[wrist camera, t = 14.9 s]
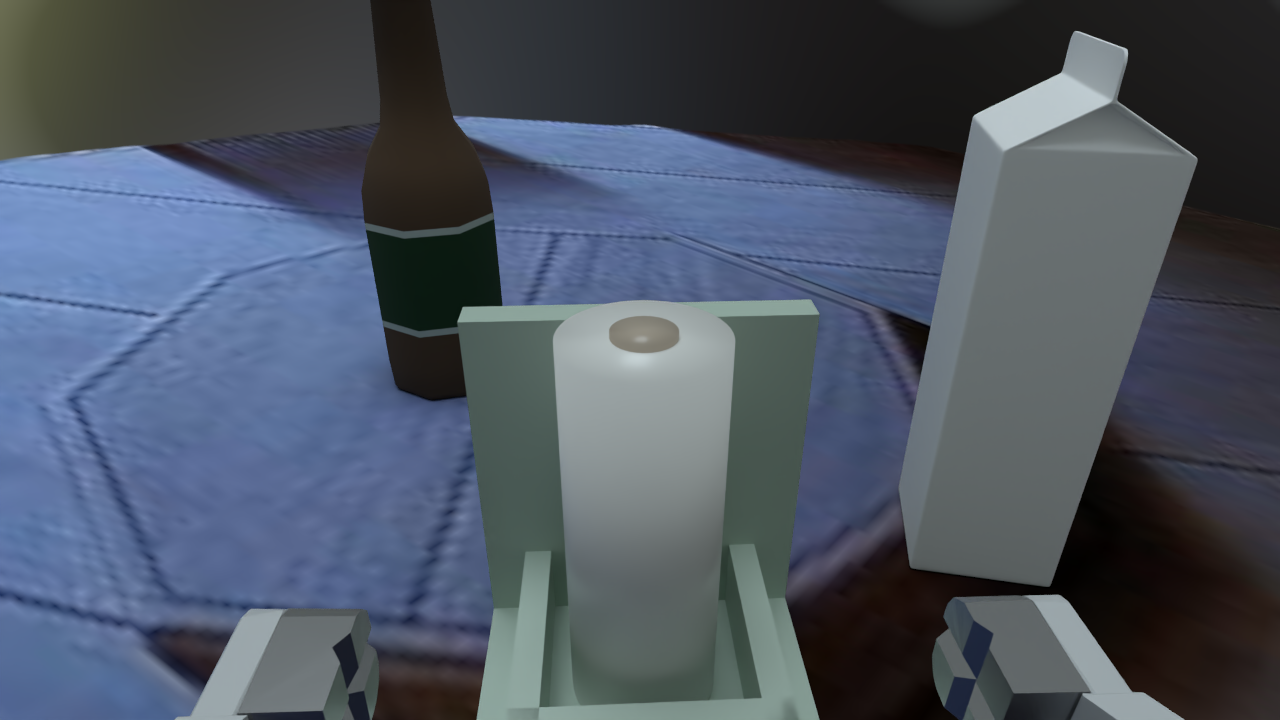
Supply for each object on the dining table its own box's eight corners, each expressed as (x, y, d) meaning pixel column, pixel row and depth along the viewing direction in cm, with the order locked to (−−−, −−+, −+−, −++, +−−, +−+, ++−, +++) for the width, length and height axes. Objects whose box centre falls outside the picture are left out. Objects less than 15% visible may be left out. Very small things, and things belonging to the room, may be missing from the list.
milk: (1019, 504, 39) (1164, 32, 28) (1050, 591, 34) (1243, 52, 23) (894, 488, 40) (990, 27, 29) (906, 570, 35) (1027, 46, 24)
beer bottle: (533, 376, 50) (500, -39, 39) (420, 416, 46) (345, -35, 34) (478, 334, 56) (434, -41, 44) (372, 366, 51) (294, -39, 40)
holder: (460, 867, 24) (387, 511, 17) (502, 581, 34) (468, 291, 27) (846, 848, 24) (925, 494, 17) (771, 572, 35) (802, 284, 28)
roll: (556, 725, 27) (529, 366, 20) (590, 613, 31) (577, 289, 25) (706, 748, 26) (729, 383, 19) (718, 629, 31) (740, 300, 24)
